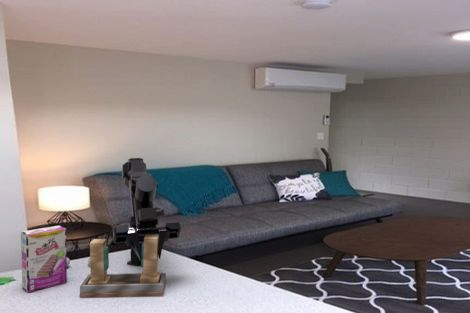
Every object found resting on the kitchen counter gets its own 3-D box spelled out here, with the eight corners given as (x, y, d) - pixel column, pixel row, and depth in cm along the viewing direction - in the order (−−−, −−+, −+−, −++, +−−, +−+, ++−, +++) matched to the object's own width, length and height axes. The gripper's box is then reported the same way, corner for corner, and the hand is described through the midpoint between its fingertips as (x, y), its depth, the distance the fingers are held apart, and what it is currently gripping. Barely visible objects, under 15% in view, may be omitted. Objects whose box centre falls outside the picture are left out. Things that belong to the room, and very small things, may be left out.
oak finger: (160, 278, 125) (161, 234, 123) (158, 285, 120) (159, 239, 118) (142, 278, 124) (143, 234, 123) (139, 285, 119) (140, 239, 118)
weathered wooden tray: (79, 297, 116) (78, 246, 115) (89, 283, 126) (88, 236, 125) (162, 296, 117) (162, 245, 116) (166, 282, 127) (165, 235, 126)
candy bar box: (28, 293, 118) (25, 234, 117) (21, 288, 122) (19, 231, 120) (68, 282, 126) (66, 227, 125) (61, 278, 130) (59, 224, 128)
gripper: (113, 197, 120) (116, 248, 111) (179, 194, 126) (188, 241, 117) (112, 218, 129) (115, 267, 119) (174, 214, 135) (182, 260, 125)
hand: (150, 258), depth 120 cm, fingers closed on oak finger, 5 cm apart
